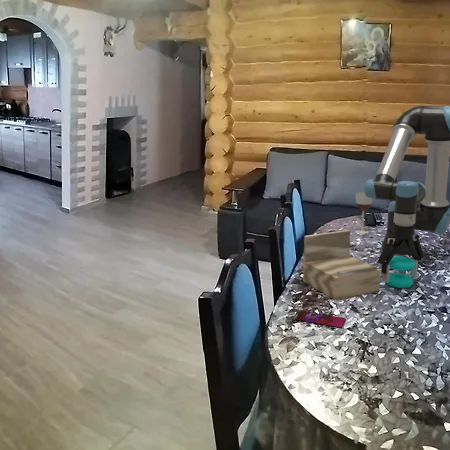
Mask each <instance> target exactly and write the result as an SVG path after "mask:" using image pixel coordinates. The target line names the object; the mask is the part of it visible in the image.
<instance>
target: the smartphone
mask: <svg viewBox="0 0 450 450" xmlns="http://www.w3.org/2000/svg"><path fill="white" fill-rule="evenodd" d="M294 320H295V321H296V322H298V321H301V322H300V323H304V322H309V323H308V324H310V323H313V324H312V325H316V324H320V325H319V326H322V325H326V326H325V327H328V326H331V327H330V328H334V327H337V328H336V329H340V328H341V329H343V328H344V325H345V323H346V321H347V319H346V318H345V317H342V316H337V315H332V314H331V315H330V314H324V313H318V312H315V311H314V312H312V311H307V310H300V311H299V312H298V314H297V316H296V317H295V318H294ZM342 327H343V328H342Z"/></svg>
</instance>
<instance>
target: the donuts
mask: <svg viewBox="0 0 450 450" xmlns="http://www.w3.org/2000/svg"><path fill="white" fill-rule="evenodd" d="M412 259H413V258H410V257H408V256H403V255H394V257H393V258H392V260H391V261H390V263H389V264H388V265H390V269H392V270H395V271H401V272H393V273H392V272H391V273H389V281H388V282H385V284H387V286H390V287H393V288H398V289H407V288H410V287H412V286H413V284H414V279H413V278H412V277H411V275H409V274H406V273H402V272H404V271H405V272H406V271H410V270H411V269H412V268H414V266H415V262H414V261H413V260H412Z"/></svg>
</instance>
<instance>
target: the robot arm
mask: <svg viewBox="0 0 450 450" xmlns="http://www.w3.org/2000/svg"><path fill="white" fill-rule="evenodd" d="M391 128H392V129H391V134H392V135H391V138H390V139H389V143H388V145H387V147H386V150H385V153H384V155H383V157H382V160H381V163H380V165H379V168H378V170H377V173H376V175H375V177H374V178H371V179H367V181H366V182H365V185H364V192H365V195H366V197H368V198H372V199H373V200H381V201H389V203H388V210H387V223H386V231H385V235H384V237H383V241H382V242H381V247H380V248H381V252H380V254H379V257H378V259H377V263H378V264H380V265H381V269H380V270H381V281H383V282H385V283H386V282H388V281H389V274H390V269H391V268H390V265H388V264H389V263H390V261H391V260H392V258H393V257H394V256H396V255H411V257H412V258H411V259H412V260H413V261H414V262H415V266H414V268H412V269H411V270H409V276H410V277H411V276H412V277H413V278H417V274H418V268H419V264H420V262H421V261H422V259H423V258H424V256H425V255H424V252H423V248H422V245H421V242H420V235H419V234H415V231H419V232H426V233H433V234H445V233H447V231H448V229H449V227H450V202H449V201H448V199H447V190H448V189H447V188H448V175H449V168H450V167H449V165H450V106H449V105H418V106H417V105H416V106H413V107H410V108H409V109H407V110H406V111H405V112H403V113H402V114H401V115H400V116H398V118H397V119H396V121H395V122H394V123H393V125H392V127H391ZM417 135H424V140H425V141H426V143H427V158H426V171H425V182H424V183H425V185H424V184H423V183H422V182H419V181H417V182H416V181H411V180H402V181H401V180H400V181H396V179H397V176H398V174H399V171H400V169H401V166H402V163H403V160H404V158H405V156H406V153H407V150H408V148H409V145H410V143H411V141H412V140H413V139H415V137H416V136H417Z"/></svg>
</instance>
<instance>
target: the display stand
mask: <svg viewBox="0 0 450 450" xmlns="http://www.w3.org/2000/svg"><path fill="white" fill-rule="evenodd" d="M303 241H304V244H303V268H302V269H303V270H302V282H304V283H306V284H307V285H309V286H310V285H311V287H313V288H314V289H316V290H317V291H319V292H321V293H322V294H324V295H325V296H327V297H329V298H331V299H332V300H338V299H343V298H349V297H353V296H358V295H364V294H368V293H369V294H370V293H375V292H378V291H380V287H381V277H382V272H381V270H382V269H380V268H378V266H376V265H371V264H369V263H367V262H364V261H362V260H360V259H358V258H355V257H354V256H351V255H350V245H351V243H350V242H351V230H349V229H345V230H340V231H339V230H337V231H330V232H324V233H315V234H310V235H304V240H303Z"/></svg>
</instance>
